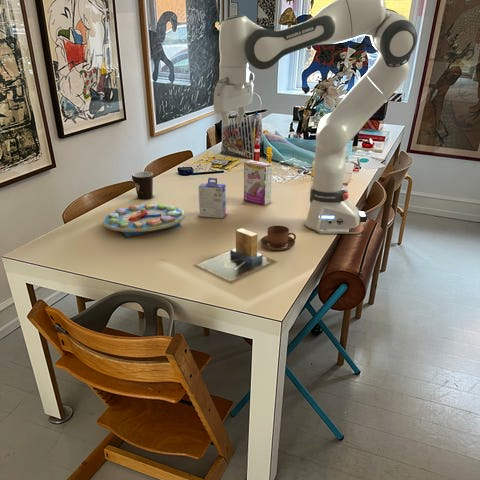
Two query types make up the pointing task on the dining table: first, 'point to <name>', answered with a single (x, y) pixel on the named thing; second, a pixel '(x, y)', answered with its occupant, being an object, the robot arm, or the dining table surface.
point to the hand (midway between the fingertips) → (233, 123)
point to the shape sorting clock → (143, 219)
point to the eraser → (246, 247)
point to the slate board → (231, 266)
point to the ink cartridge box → (212, 199)
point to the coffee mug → (143, 184)
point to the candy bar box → (257, 182)
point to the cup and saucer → (278, 238)
